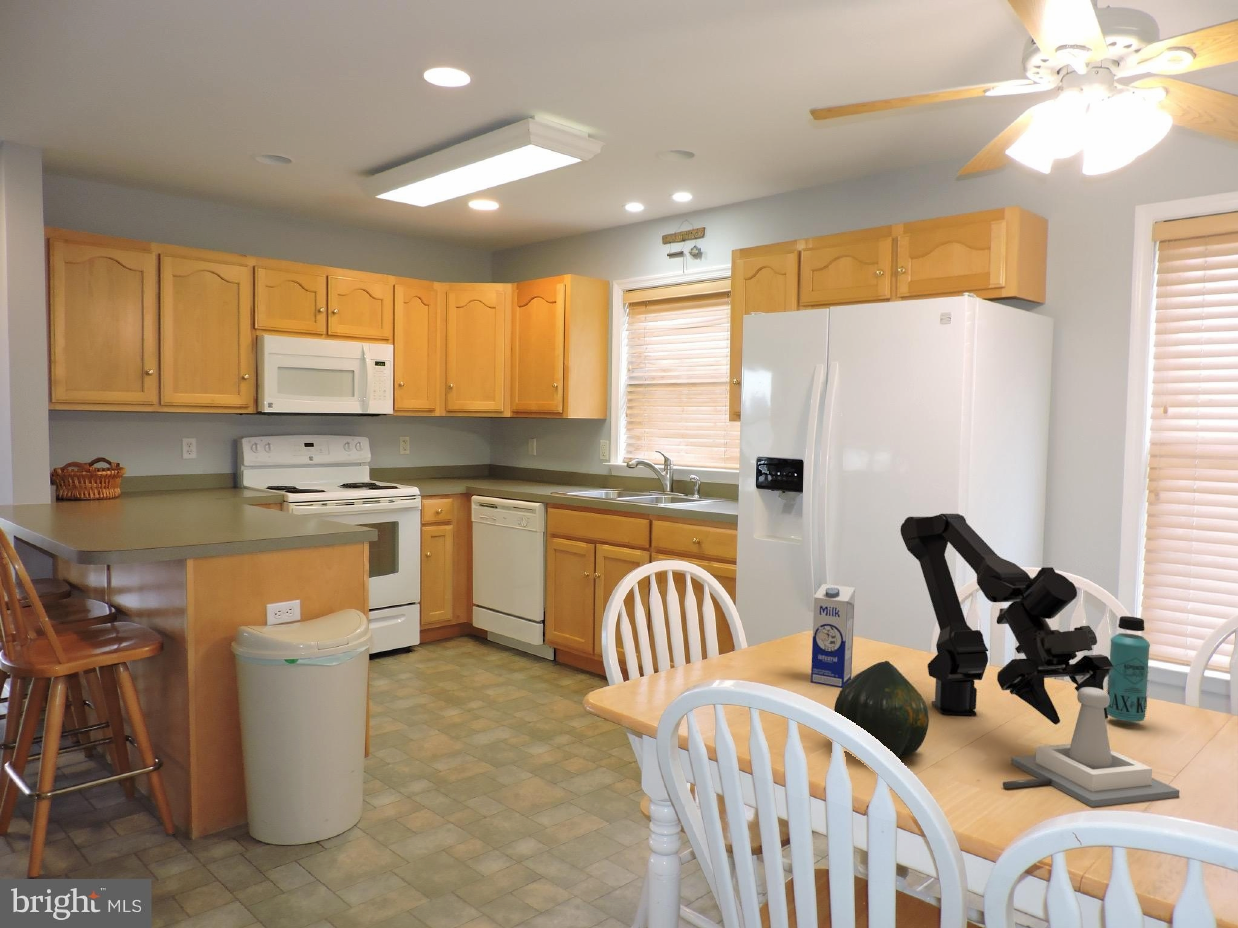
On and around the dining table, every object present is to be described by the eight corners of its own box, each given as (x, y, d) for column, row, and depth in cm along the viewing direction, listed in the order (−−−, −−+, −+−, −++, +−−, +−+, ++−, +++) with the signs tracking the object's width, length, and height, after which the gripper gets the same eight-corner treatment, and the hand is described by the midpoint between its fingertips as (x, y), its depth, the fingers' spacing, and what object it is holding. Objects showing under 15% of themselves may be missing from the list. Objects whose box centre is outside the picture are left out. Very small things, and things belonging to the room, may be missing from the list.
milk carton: (852, 680, 179) (856, 586, 179) (843, 688, 174) (847, 591, 173) (819, 674, 183) (822, 582, 182) (809, 682, 177) (813, 587, 176)
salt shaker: (1105, 783, 126) (1110, 697, 126) (1063, 772, 130) (1067, 688, 130) (1114, 772, 131) (1119, 689, 130) (1074, 761, 135) (1078, 681, 134)
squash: (862, 739, 129) (914, 661, 133) (804, 712, 143) (852, 641, 147) (915, 791, 134) (964, 713, 138) (853, 759, 147) (899, 690, 151)
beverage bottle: (1096, 717, 160) (1102, 612, 159) (1130, 717, 160) (1136, 613, 159) (1120, 730, 153) (1126, 620, 152) (1154, 730, 154) (1161, 621, 153)
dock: (1045, 812, 118) (1046, 787, 118) (968, 767, 134) (969, 745, 133) (1179, 796, 125) (1180, 773, 125) (1091, 755, 140) (1092, 734, 140)
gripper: (1013, 609, 134) (1063, 700, 124) (1108, 606, 139) (1163, 693, 129) (977, 645, 142) (1021, 733, 132) (1067, 641, 147) (1116, 725, 137)
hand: (1081, 721), depth 132 cm, fingers open, 9 cm apart
